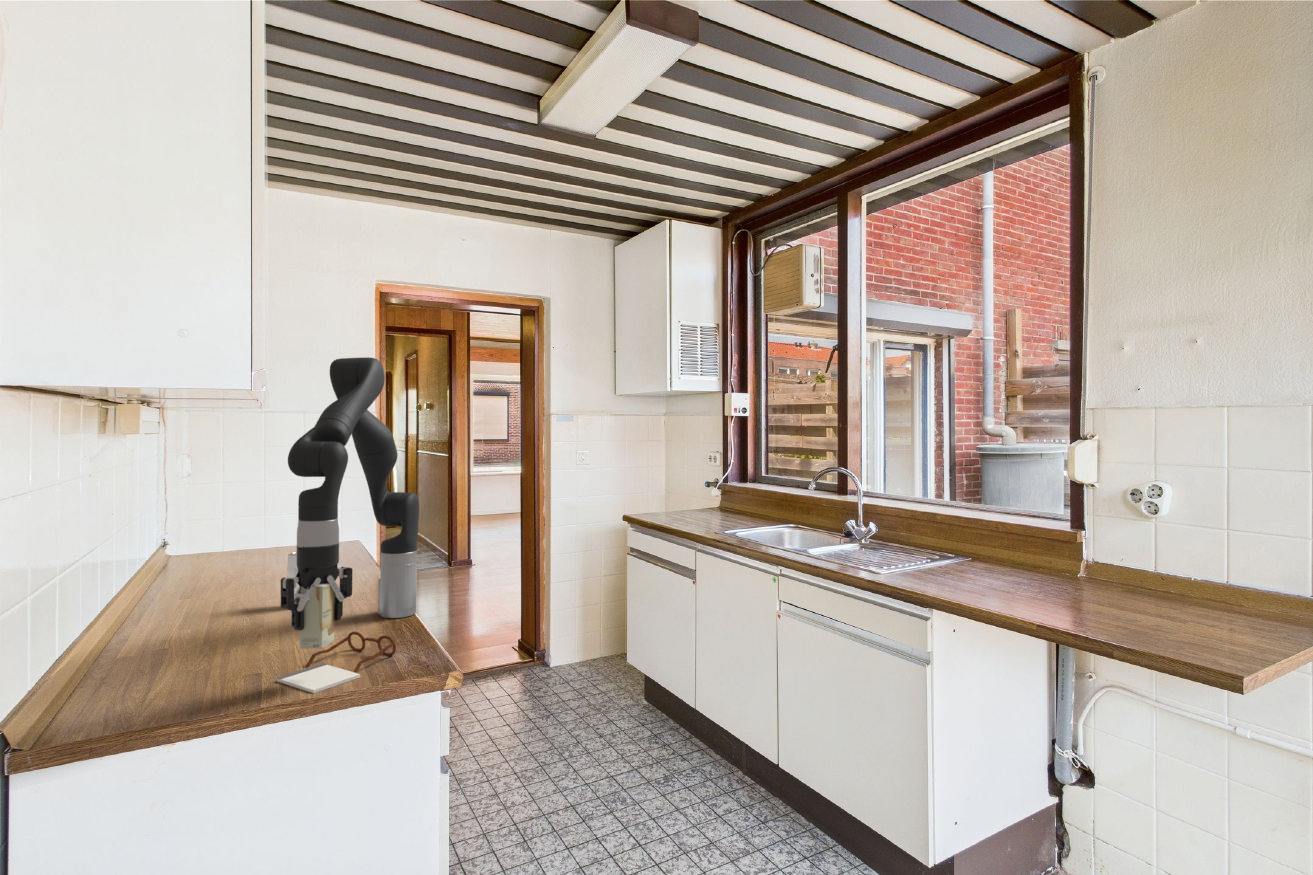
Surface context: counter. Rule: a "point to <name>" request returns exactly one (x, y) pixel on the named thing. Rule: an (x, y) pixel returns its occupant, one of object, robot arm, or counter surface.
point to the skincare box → (318, 618)
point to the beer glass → (292, 568)
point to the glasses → (382, 651)
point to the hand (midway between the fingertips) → (317, 624)
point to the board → (318, 678)
